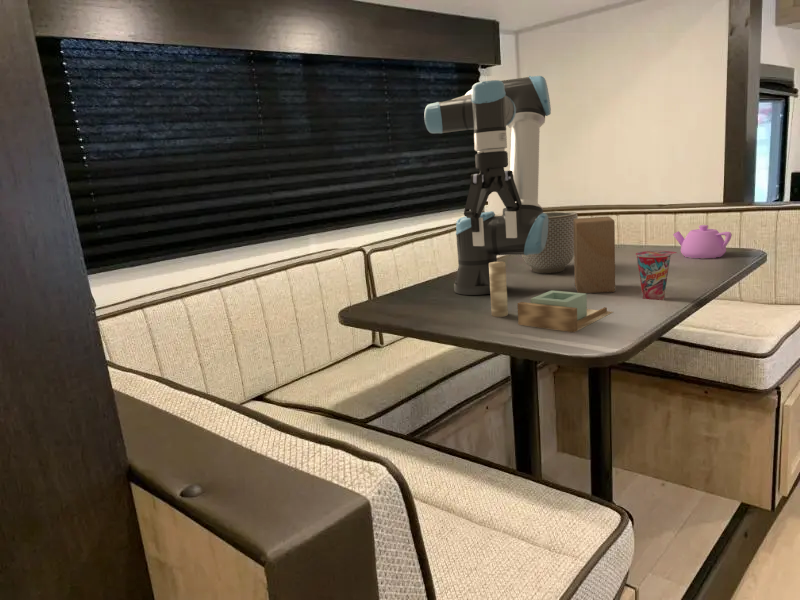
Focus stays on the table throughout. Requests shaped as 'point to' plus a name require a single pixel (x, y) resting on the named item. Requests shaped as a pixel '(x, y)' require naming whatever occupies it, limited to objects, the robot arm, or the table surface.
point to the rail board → (556, 316)
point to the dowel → (498, 289)
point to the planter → (555, 244)
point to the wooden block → (594, 254)
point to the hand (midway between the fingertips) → (495, 241)
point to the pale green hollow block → (564, 301)
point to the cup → (653, 273)
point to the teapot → (703, 243)
